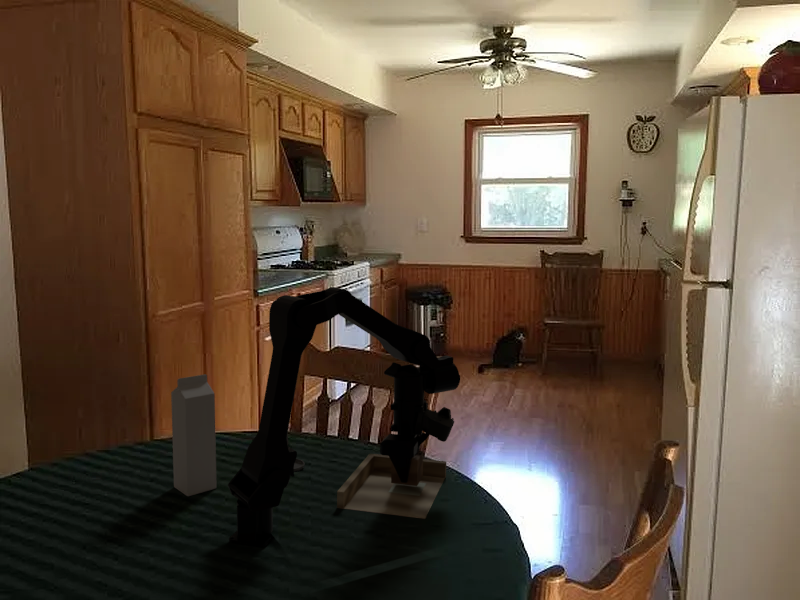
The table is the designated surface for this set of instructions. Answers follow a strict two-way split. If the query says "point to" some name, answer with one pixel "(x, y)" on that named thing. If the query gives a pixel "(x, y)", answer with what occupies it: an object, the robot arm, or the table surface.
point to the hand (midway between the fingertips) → (407, 476)
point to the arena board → (390, 488)
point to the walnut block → (414, 472)
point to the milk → (193, 435)
